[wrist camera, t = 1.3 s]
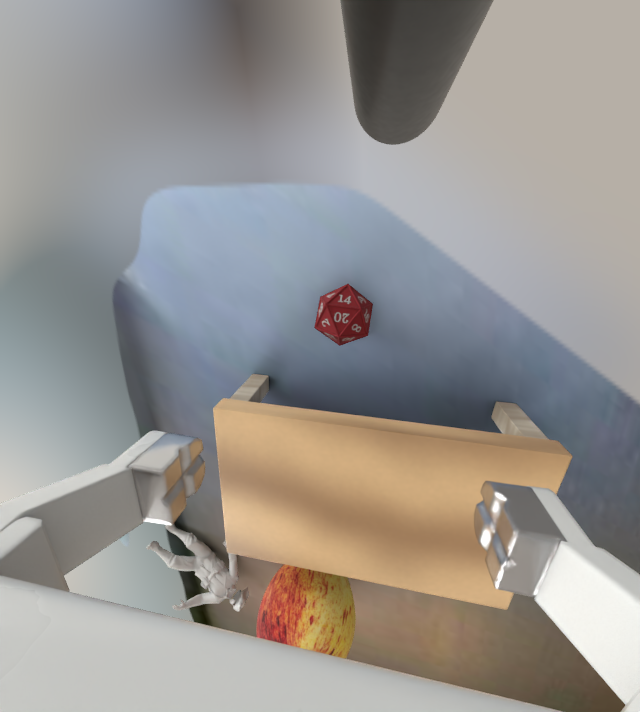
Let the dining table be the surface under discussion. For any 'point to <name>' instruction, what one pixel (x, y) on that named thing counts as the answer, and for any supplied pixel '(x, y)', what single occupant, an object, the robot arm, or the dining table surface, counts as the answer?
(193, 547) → the soldier figure
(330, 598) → the apple
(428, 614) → the dining table surface
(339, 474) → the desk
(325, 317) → the dice
